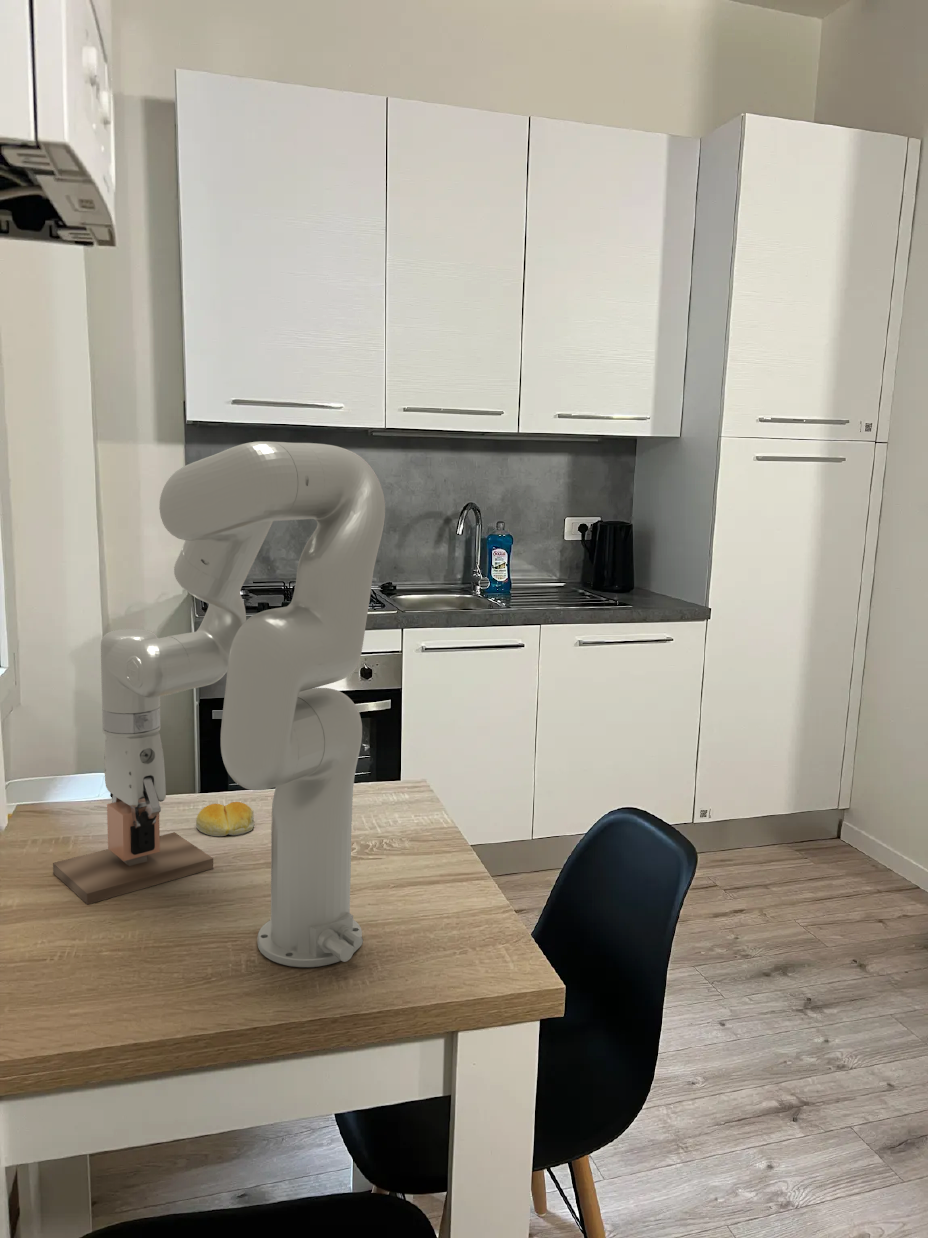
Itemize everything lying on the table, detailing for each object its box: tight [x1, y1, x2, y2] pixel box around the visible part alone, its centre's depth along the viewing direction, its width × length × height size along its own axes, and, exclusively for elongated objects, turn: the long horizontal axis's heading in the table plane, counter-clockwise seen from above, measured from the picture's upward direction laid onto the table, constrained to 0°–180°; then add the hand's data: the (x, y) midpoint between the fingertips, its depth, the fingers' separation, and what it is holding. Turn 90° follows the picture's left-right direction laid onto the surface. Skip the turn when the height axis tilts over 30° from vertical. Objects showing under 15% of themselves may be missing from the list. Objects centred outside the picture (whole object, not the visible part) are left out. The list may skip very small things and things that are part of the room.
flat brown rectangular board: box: [52, 832, 214, 905], centre depth 133 cm, size 12×18×7 cm, turn 133°
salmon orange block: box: [106, 798, 161, 861], centre depth 133 cm, size 5×5×7 cm
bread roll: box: [195, 801, 255, 837], centre depth 150 cm, size 8×9×4 cm
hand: (133, 843), depth 133 cm, fingers closed on salmon orange block, 5 cm apart
